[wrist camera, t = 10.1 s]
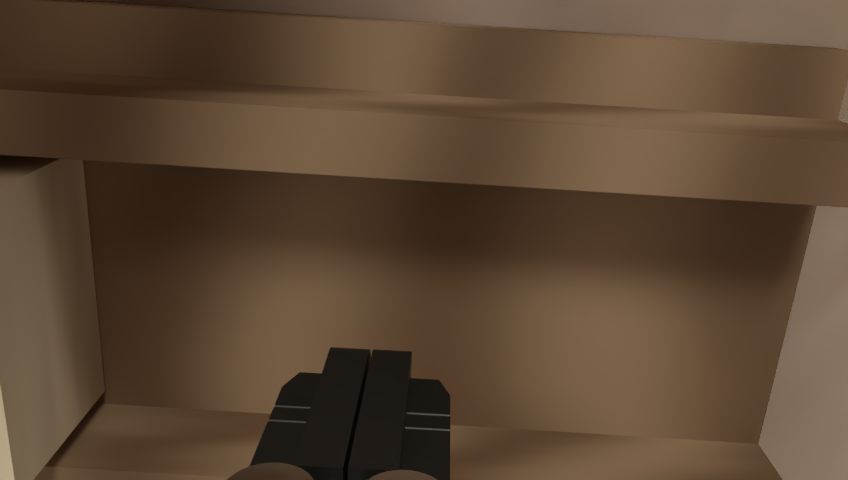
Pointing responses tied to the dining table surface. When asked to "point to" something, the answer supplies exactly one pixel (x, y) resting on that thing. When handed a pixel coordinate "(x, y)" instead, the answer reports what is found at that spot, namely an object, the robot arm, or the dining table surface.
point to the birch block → (44, 311)
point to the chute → (430, 228)
